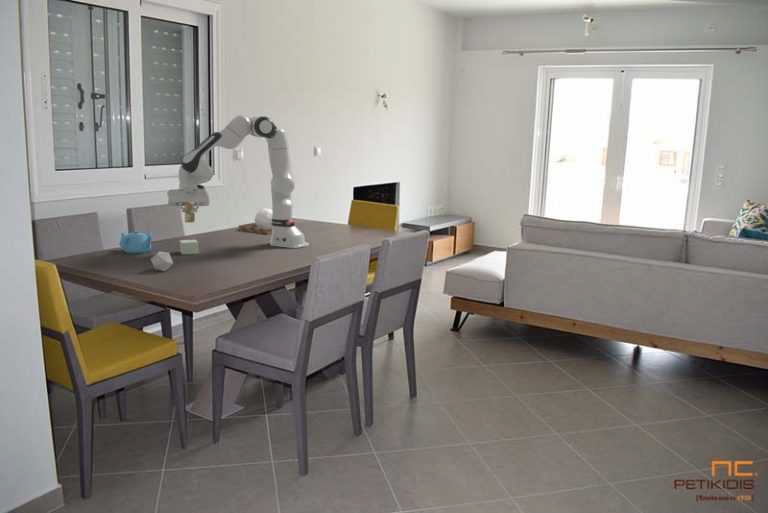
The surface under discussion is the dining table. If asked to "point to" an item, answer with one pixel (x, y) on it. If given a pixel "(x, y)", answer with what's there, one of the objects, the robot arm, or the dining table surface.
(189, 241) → the sage cube
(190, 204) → the beech block
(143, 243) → the teapot
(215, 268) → the dining table surface
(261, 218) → the geodesic sphere
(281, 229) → the robot arm
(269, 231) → the wooden rectangular frame
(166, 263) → the die
